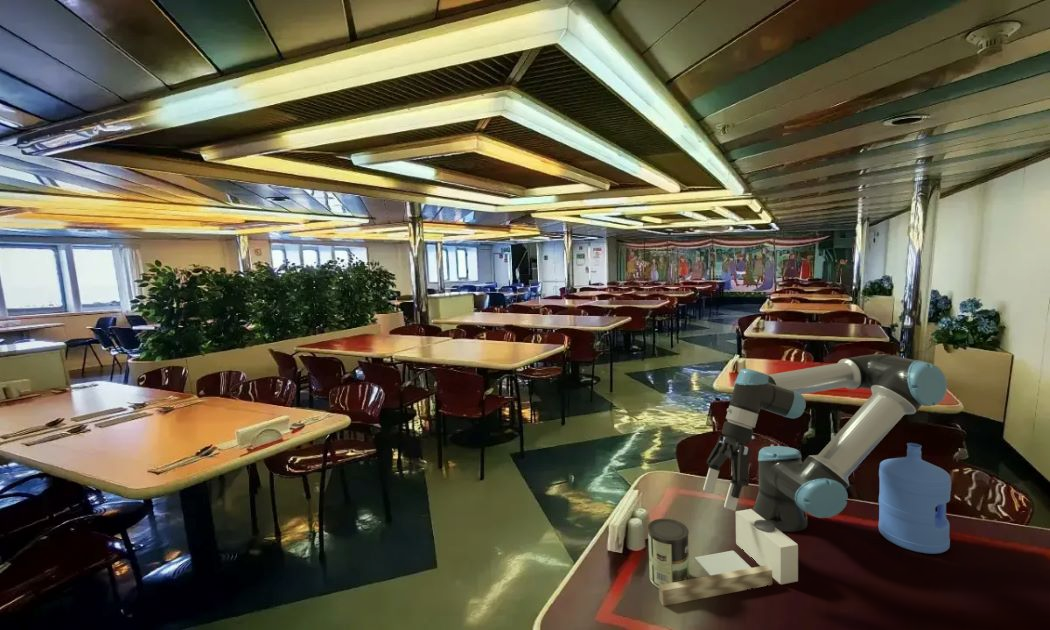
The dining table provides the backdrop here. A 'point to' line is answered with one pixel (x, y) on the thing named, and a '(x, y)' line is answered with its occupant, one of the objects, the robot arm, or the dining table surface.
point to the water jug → (914, 503)
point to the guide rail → (715, 585)
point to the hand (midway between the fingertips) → (718, 499)
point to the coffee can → (668, 551)
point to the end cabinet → (757, 549)
